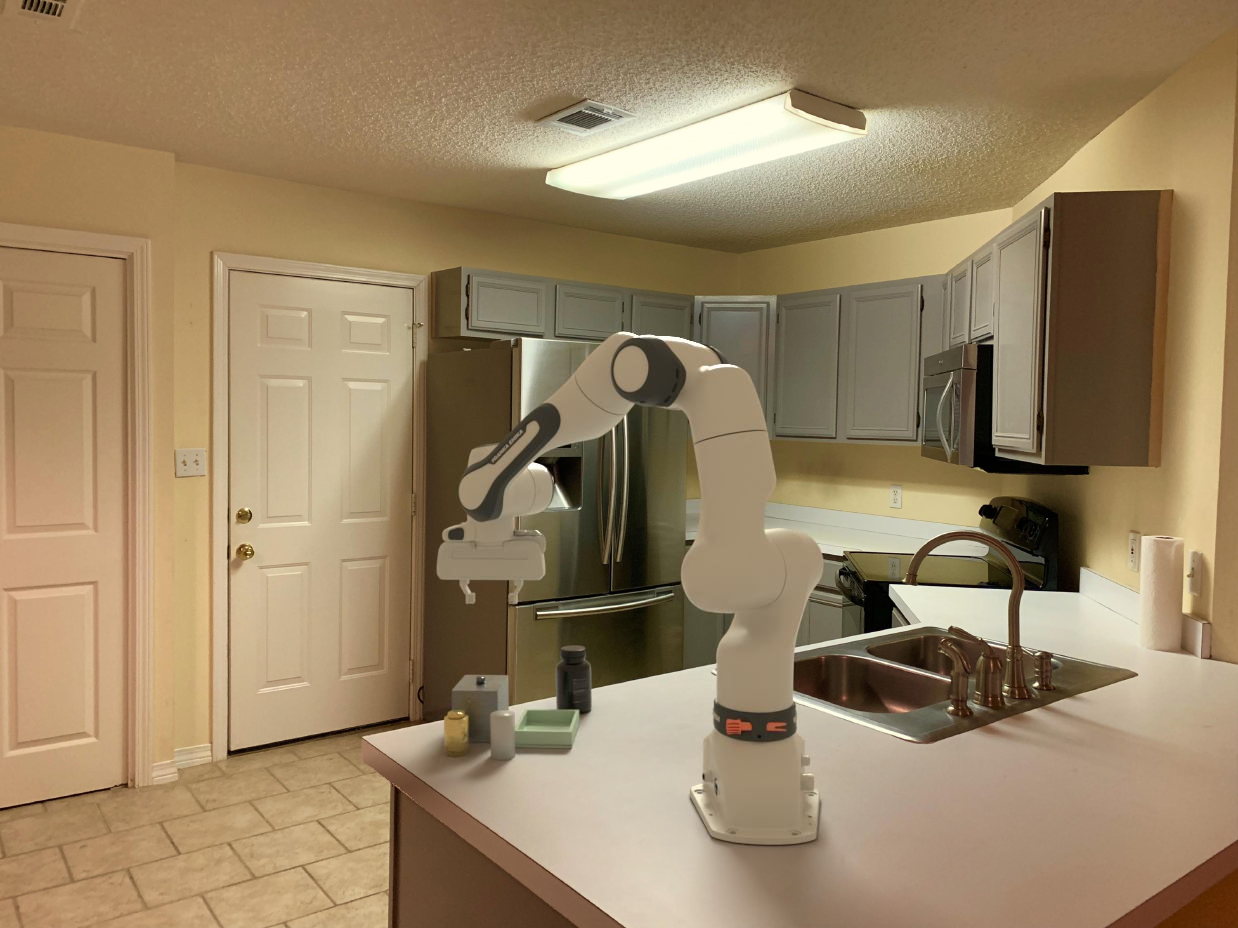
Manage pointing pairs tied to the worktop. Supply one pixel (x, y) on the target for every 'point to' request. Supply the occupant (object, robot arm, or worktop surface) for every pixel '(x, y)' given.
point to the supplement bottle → (573, 680)
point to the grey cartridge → (502, 734)
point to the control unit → (480, 702)
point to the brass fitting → (456, 734)
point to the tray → (547, 728)
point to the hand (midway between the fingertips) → (491, 603)
